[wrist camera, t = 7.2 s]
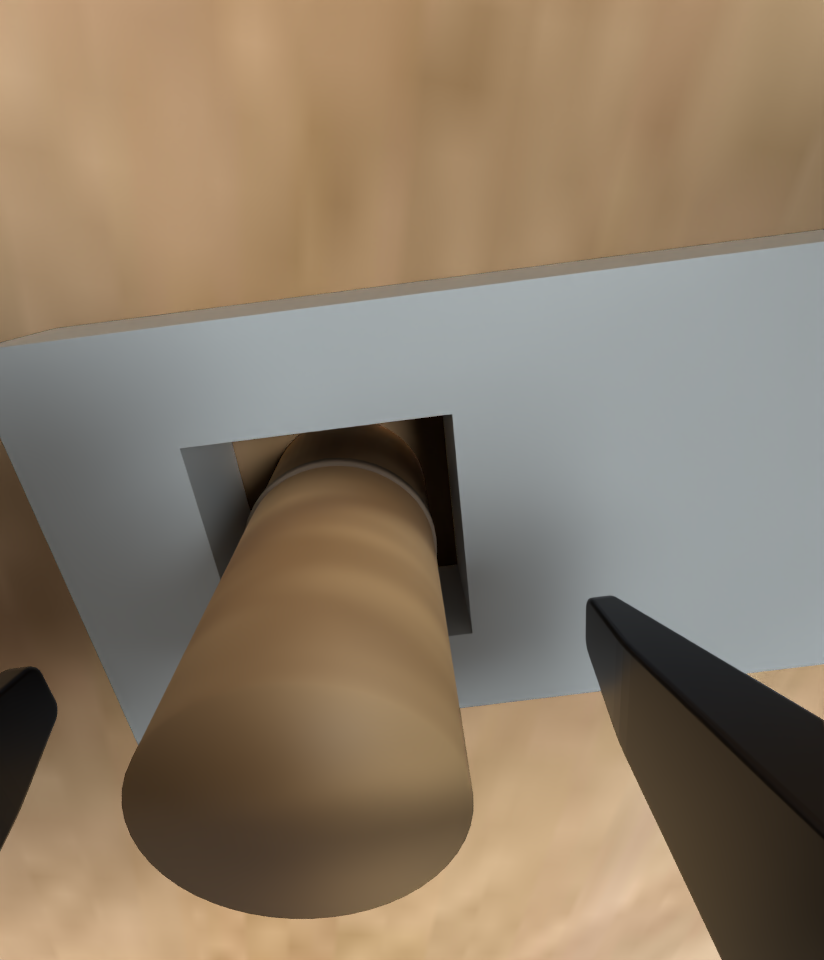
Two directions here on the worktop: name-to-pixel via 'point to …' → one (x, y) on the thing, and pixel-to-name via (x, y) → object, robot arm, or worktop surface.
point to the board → (463, 453)
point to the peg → (313, 700)
